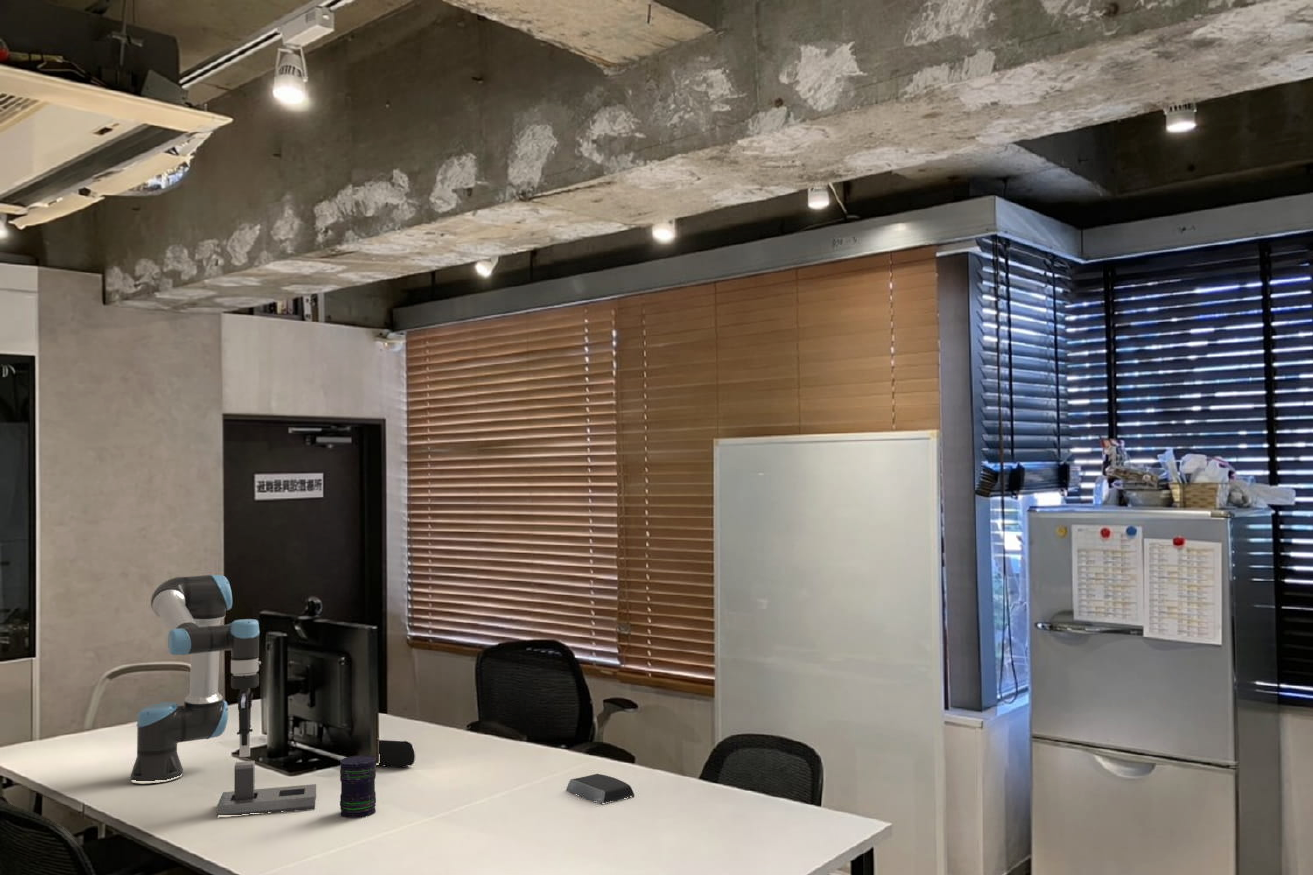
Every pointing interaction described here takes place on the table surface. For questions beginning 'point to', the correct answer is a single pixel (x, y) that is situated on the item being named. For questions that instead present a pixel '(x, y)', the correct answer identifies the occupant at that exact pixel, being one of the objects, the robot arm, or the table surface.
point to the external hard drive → (600, 788)
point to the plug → (244, 780)
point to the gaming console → (396, 752)
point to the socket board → (269, 800)
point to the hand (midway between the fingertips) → (244, 755)
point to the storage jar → (357, 786)
